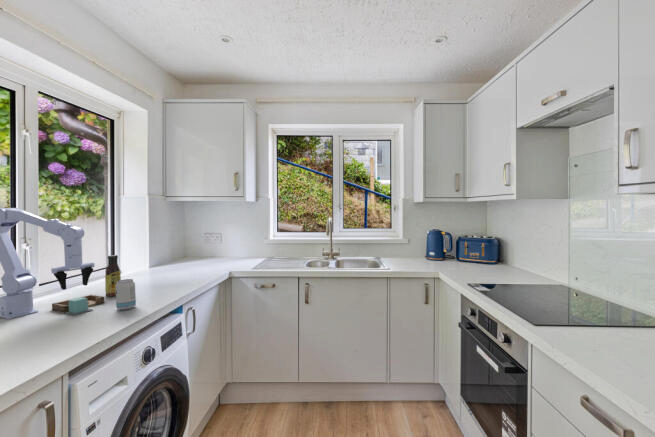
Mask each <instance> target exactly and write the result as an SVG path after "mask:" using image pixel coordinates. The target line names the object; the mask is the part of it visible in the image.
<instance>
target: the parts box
mask: <svg viewBox="0 0 655 437" xmlns="http://www.w3.org/2000/svg"><path fill="white" fill-rule="evenodd" d="M80 297H81V296H80ZM80 297H78V298H80ZM82 297H83V298H87V301H88V308H90V307H93V306H94V307H95V306H97V305H101V304H105V296H102V295H96V294H88V295H83V296H82ZM75 298H76V297H74V298H73V299H75ZM71 299H72V298H71ZM71 299H65V300H63V301H62V300H61V301H58V302H53V303H52V304H51V309H52V311H54V312H59V313H62V314H64V313H65V312H69V300H71Z"/></svg>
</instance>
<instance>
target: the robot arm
mask: <svg viewBox="0 0 655 437" xmlns="http://www.w3.org/2000/svg"><path fill="white" fill-rule="evenodd" d="M20 222H24V223H28V224H31V225H34V226H38V227H40V228H42V230H43V231H44V232H45V233H48V234H51V235H54V236H57V237H60V238H61V240H62V241H63V244H64V245H63V247H64V248H63V249H64V251H63V252H64V266H59V267H51V269H50V270H51V274H53V276H54V277H55V278H56V280H57V281H58V284H59V285H60V288H61V290H67V275H68V273H66V272H71V271H78V270H80V273H81V277H82V278H81V279H82V285H83V286H87V285H88V283H89V279H90V277H91V274H92V273H93V271H94V268H95V263H94V262H87V263H83V246H82V245H83V242H82V241H83V240H82V238H84V236H85V231H84V229H83V228H82V227H80V226H79V225H74V226H73V225H72V224H71V223H65V222H63V221H60V219H58V218H54V219H53V218H50V219H46V218H42V217H41V216H39V215H36V214H33V213H31V212H29V211H26V210H24V209H20V208H17V207H0V265H1V267H2V269H3V271H4V274H3V275H2V276H1V278H0V280H1V283H2V285H1V289H2V291H3V292H4V293H5V295H1V296H0V318H2V317H3V319H6V320H10V319H14V318H18V317H23V316H25V315H31V314H34V313H38V312H39V310H37V309H34V296H33V295H34V293H33V292H34V288H35V286H36V285H37V278H36V276H35V275H34V274H32V273H31V271H30V270H29V269H28V268H25V267H24V265H23V264H22V261H21V259H20V257H19V255H18V253H17V250H16V248H15V246H14V244H13V241H12V239H11V237H10V235H9V231H10V229H11V228H13V227H14V226H15V225H17V224H18V223H20Z"/></svg>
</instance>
